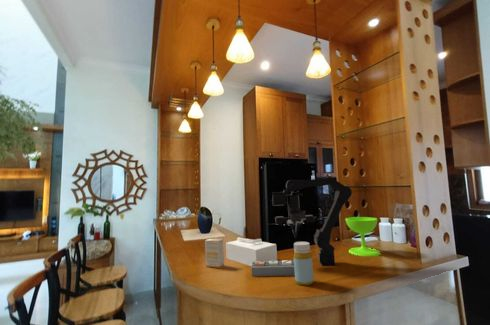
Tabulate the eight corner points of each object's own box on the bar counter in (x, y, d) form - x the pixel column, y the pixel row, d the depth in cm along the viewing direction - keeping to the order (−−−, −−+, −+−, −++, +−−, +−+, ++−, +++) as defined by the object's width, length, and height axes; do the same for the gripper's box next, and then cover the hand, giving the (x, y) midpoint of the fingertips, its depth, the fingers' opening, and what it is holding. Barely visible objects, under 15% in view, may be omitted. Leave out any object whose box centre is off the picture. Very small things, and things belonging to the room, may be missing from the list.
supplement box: (224, 265, 123) (223, 238, 124) (219, 268, 119) (218, 240, 120) (210, 263, 126) (209, 238, 128) (205, 266, 122) (204, 239, 123)
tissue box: (256, 268, 116) (255, 244, 118) (226, 258, 135) (225, 238, 137) (277, 261, 126) (275, 239, 127) (246, 253, 145) (245, 234, 146)
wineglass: (343, 253, 133) (340, 219, 135) (355, 247, 144) (352, 216, 146) (374, 258, 122) (370, 221, 124) (385, 251, 132) (381, 217, 134)
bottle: (293, 280, 99) (290, 242, 100) (310, 278, 99) (307, 240, 101) (298, 286, 92) (295, 245, 94) (316, 285, 93) (313, 244, 94)
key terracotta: (264, 265, 112) (264, 260, 112) (264, 268, 108) (264, 263, 108) (255, 265, 112) (255, 260, 112) (255, 268, 108) (255, 263, 108)
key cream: (290, 264, 111) (290, 259, 111) (291, 267, 107) (291, 262, 107) (282, 264, 111) (281, 260, 111) (282, 267, 107) (282, 262, 107)
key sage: (277, 265, 111) (277, 260, 112) (278, 267, 107) (277, 262, 108) (268, 265, 112) (268, 260, 112) (268, 268, 108) (268, 263, 108)
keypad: (294, 268, 113) (293, 260, 113) (296, 275, 104) (295, 266, 104) (253, 269, 114) (252, 261, 115) (252, 276, 106) (251, 267, 106)
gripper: (275, 207, 114) (277, 241, 112) (316, 205, 112) (319, 239, 111) (274, 205, 125) (276, 236, 123) (311, 203, 123) (314, 235, 122)
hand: (295, 237), depth 119 cm, fingers closed
